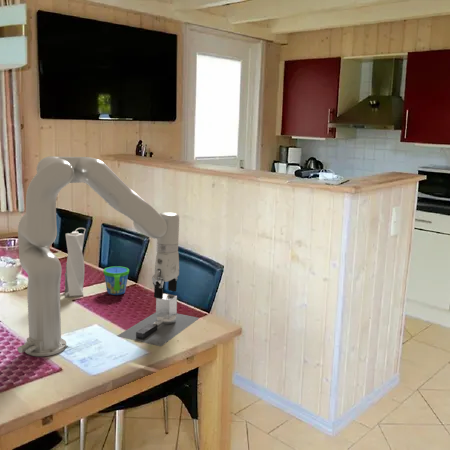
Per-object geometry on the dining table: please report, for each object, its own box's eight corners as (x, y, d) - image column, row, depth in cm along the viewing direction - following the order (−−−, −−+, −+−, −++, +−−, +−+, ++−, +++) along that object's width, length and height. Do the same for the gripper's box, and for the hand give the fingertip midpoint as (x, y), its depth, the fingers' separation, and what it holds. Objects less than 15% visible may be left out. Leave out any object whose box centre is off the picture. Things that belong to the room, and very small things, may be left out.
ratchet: (148, 341, 169) (149, 321, 167) (130, 337, 171) (130, 317, 170) (179, 320, 188) (179, 302, 186) (162, 316, 190) (163, 298, 189)
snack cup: (128, 299, 210) (128, 275, 208) (101, 299, 208) (101, 275, 206) (129, 286, 225) (130, 264, 223) (105, 286, 223) (105, 264, 221)
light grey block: (169, 319, 182) (169, 300, 181) (155, 316, 184) (156, 297, 183) (176, 314, 187) (176, 295, 185) (163, 311, 189) (163, 293, 188)
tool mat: (160, 348, 165) (160, 346, 165) (116, 338, 172) (116, 335, 172) (199, 319, 191) (199, 317, 191) (159, 311, 197) (159, 309, 197)
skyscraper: (85, 290, 218) (84, 225, 212) (87, 296, 210) (86, 229, 205) (64, 292, 215) (63, 226, 209) (65, 298, 207) (64, 230, 202)
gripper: (164, 254, 171) (162, 303, 174) (188, 244, 187) (186, 289, 190) (144, 250, 174) (143, 299, 177) (170, 241, 190) (168, 286, 193)
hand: (165, 294), depth 184 cm, fingers open, 9 cm apart
